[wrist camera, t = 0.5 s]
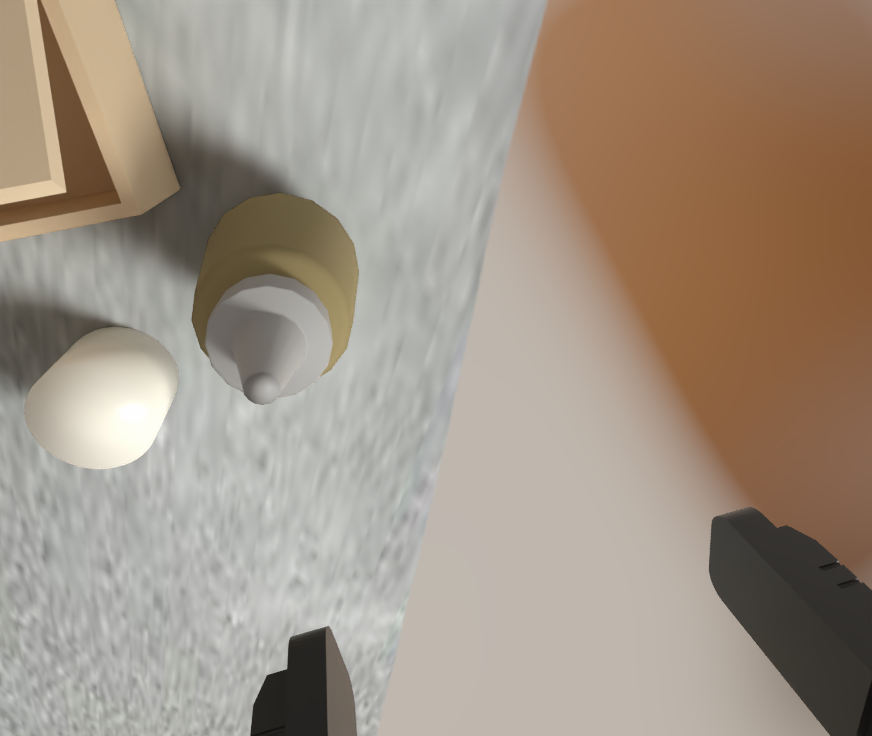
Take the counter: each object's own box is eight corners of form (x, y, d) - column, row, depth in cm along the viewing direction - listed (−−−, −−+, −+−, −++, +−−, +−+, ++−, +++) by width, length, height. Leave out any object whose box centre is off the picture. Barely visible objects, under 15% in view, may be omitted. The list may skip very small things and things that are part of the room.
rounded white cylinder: (46, 339, 34) (0, 380, 29) (156, 316, 34) (130, 352, 29) (92, 429, 37) (58, 480, 32) (193, 407, 37) (175, 453, 32)
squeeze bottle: (209, 179, 32) (101, 259, 16) (356, 187, 33) (393, 267, 17) (220, 317, 35) (141, 498, 19) (353, 318, 37) (383, 486, 21)
